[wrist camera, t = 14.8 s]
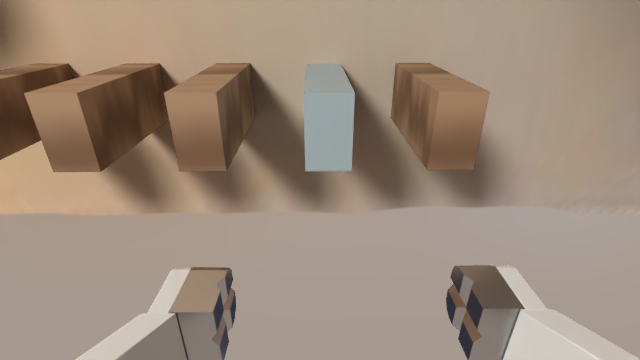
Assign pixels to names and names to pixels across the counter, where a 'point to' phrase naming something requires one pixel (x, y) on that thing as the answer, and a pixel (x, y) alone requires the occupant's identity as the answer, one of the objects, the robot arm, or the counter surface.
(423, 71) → the brown wooden block
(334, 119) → the light blue domino
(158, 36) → the counter surface
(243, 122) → the domino
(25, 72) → the domino
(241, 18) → the counter surface
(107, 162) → the domino
